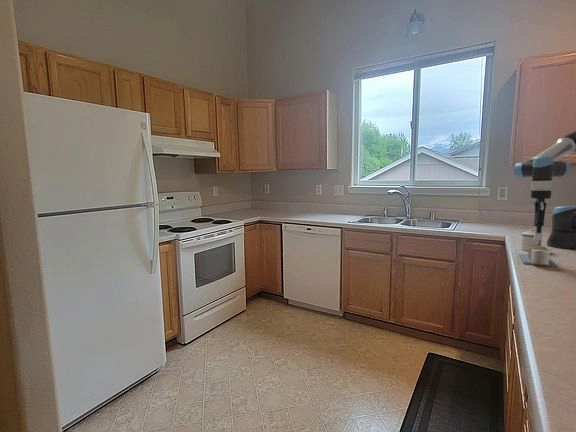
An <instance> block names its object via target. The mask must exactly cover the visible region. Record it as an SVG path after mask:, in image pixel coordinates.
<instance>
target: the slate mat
mask: <svg viewBox="0 0 576 432" xmlns="http://www.w3.org/2000/svg"><path fill="white" fill-rule="evenodd" d="M518 256H519V259H520V260H521V262H522V264H523V265H531V266H543V267H551V268H553V267H554V268H557V264H556V262H555V261H554V260H553V259H552V258H551V257H550V256H549V265H545V264H534V263H532V262H531V261H530V259H529V258H528V253H518Z"/></svg>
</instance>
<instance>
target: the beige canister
mask: <svg viewBox="0 0 576 432" xmlns="http://www.w3.org/2000/svg"><path fill="white" fill-rule="evenodd" d="M527 252H528V253H527V254H528V258H529V259H530V261H531V262H532V263H534V264H545V265H549V257H550V251H549V249H548V248H547V247H546V246H545V245H541V246H536V245H529V251H527Z"/></svg>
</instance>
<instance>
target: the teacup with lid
mask: <svg viewBox="0 0 576 432" xmlns="http://www.w3.org/2000/svg"><path fill="white" fill-rule="evenodd" d="M534 231H535V228H530V229H529V230H528V231H527V230H526V231H524V232H522V233H521V244H520V245H521V246H520V247H521V248H520V250H522V251H524V252H525V251H526V252H528V251H529V245H536V246H542V242H543V241H542V240H543V239H542V240H534Z"/></svg>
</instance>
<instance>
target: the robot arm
mask: <svg viewBox="0 0 576 432" xmlns="http://www.w3.org/2000/svg"><path fill="white" fill-rule="evenodd" d="M573 153H576V130H575V131H572V132H570V133H568V134H566V135H564V136H562V137H560V138H558V140H556V141H555V143H554V144H553V145H552V146H550V147H548V148H546V149H545V150H544V151H542V152H540V153H539V154H537V155H535V156H534V157H532V158H531V159H529V160H527V161H525V162H518V163H516V164H515V165H514V167H513V174H514V176H516V177H518V178H531V186H530V187H531V188H530V189H531V191H530V198H531V199H536V201H535V202H533V203H534V204H533V205H534V224H533V226H534V240H543V239H542V238H543V227H544V226H545V225H544V224H545V216H546V209H547V202H545V201H546V199H551V198H552V185H554V182H553V178H561V177H566V176H567V175H568V174H570V172H571V169H572V166H571V163H569V162H568V161H565V160H560V159H561V158H563V157H564V156H567V155H571V154H573ZM551 216H552V219H551V232H550V234H549V235H548V238H547V240H546V246H547V247H551V248H559V249H566V250H567V249H568V250H569V249H570V250H576V205H567V206H566V205H565V206H564V205H563V206H555V207H554V208H553V211H552V214H551Z"/></svg>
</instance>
